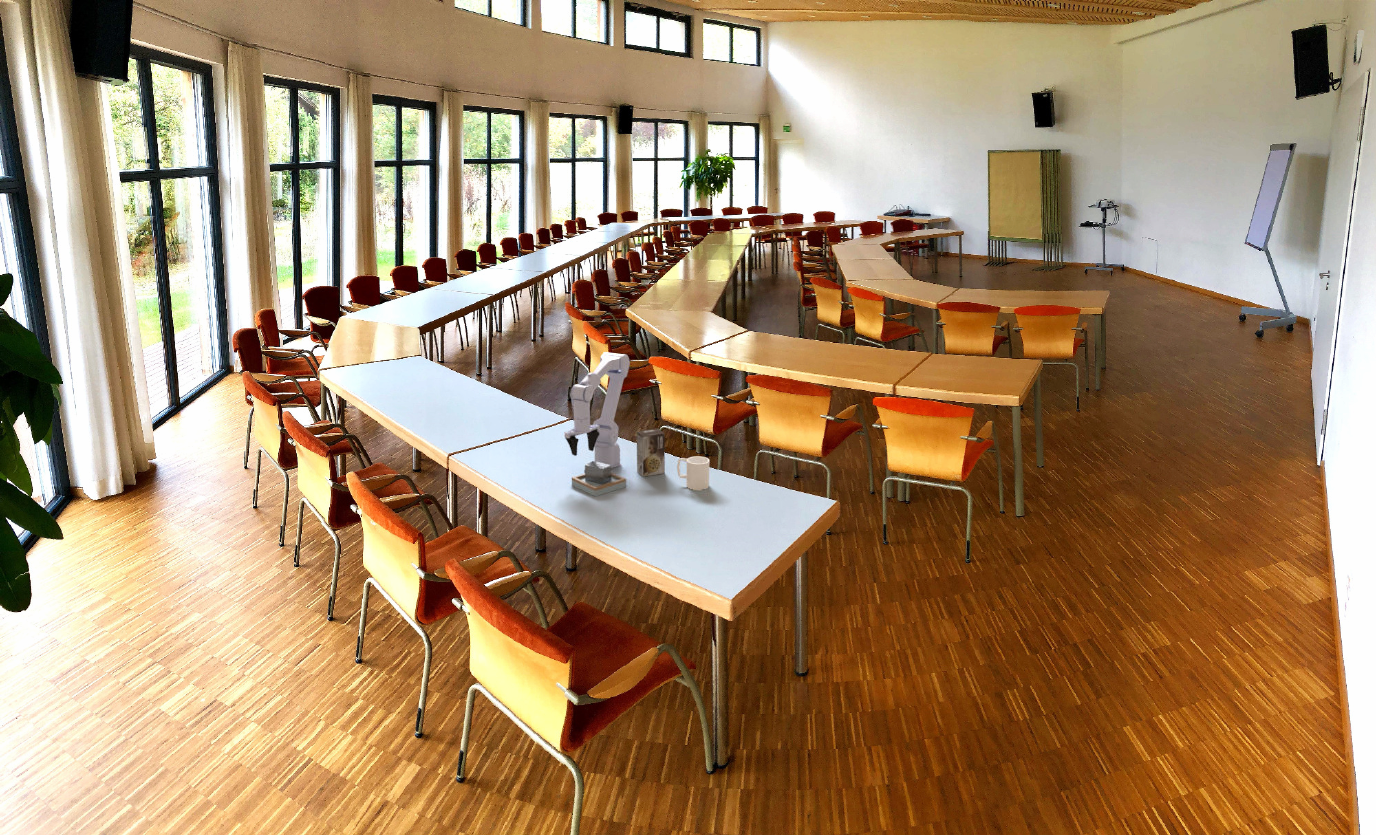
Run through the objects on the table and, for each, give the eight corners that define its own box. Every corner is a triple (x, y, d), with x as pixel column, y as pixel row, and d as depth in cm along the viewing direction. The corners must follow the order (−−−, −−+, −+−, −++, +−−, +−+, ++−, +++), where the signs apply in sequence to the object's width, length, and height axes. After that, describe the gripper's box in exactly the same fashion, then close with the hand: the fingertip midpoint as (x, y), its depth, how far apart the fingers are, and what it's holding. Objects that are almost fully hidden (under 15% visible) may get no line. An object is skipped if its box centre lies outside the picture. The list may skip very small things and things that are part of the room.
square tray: (602, 476, 329) (602, 468, 328) (626, 486, 319) (626, 478, 318) (571, 485, 320) (571, 477, 319) (595, 496, 310) (595, 488, 309)
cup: (680, 479, 326) (680, 454, 323) (711, 483, 323) (712, 457, 320) (673, 487, 319) (673, 461, 316) (705, 491, 315) (706, 465, 313)
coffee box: (658, 468, 337) (658, 428, 333) (665, 473, 332) (665, 433, 327) (636, 471, 334) (636, 431, 329) (642, 477, 328) (642, 436, 323)
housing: (611, 480, 319) (611, 465, 317) (603, 484, 315) (603, 469, 313) (591, 475, 323) (590, 460, 321) (583, 479, 319) (582, 464, 317)
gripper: (591, 411, 326) (591, 445, 330) (559, 418, 317) (560, 454, 321) (603, 415, 321) (603, 450, 325) (570, 423, 312) (571, 459, 316)
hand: (582, 452), depth 323 cm, fingers open, 7 cm apart
